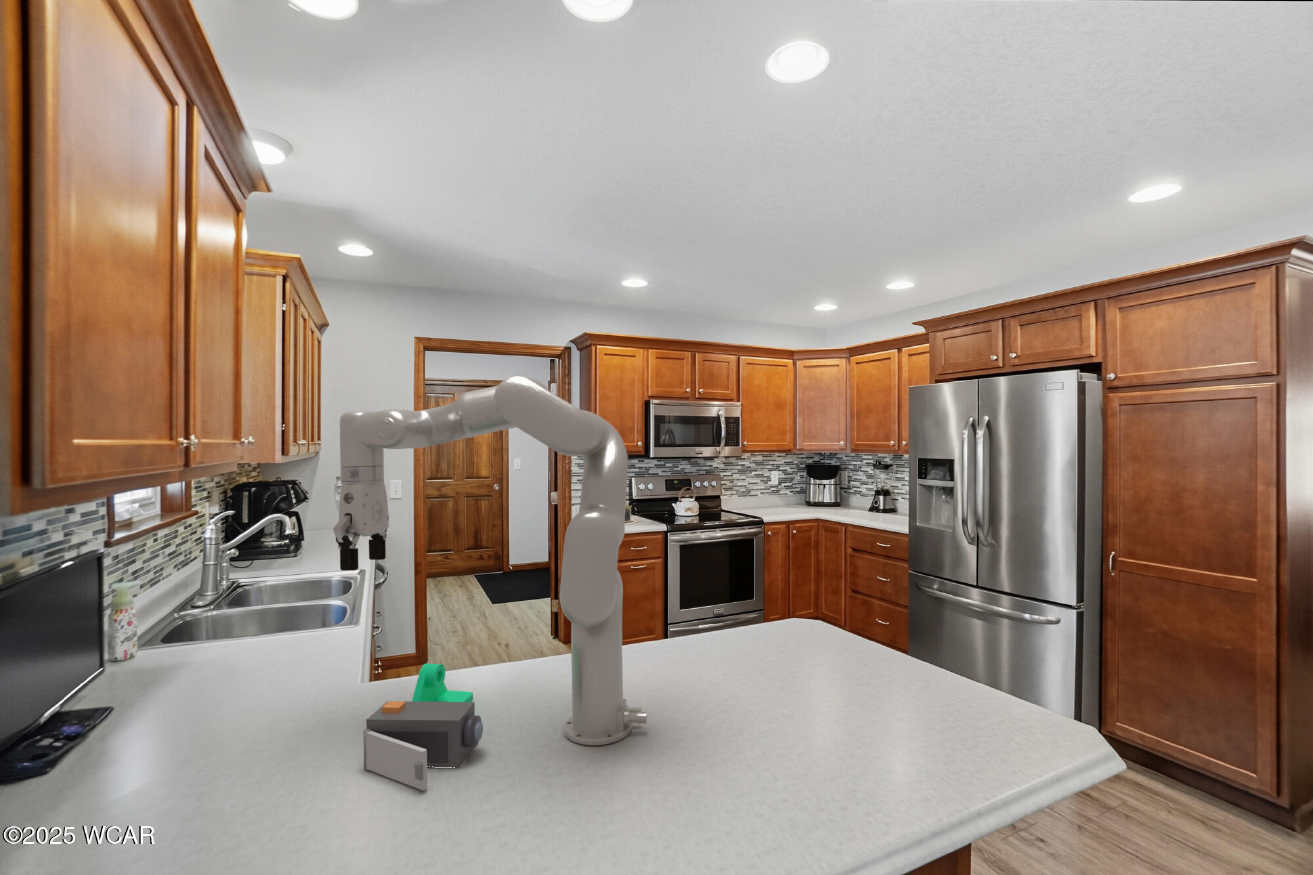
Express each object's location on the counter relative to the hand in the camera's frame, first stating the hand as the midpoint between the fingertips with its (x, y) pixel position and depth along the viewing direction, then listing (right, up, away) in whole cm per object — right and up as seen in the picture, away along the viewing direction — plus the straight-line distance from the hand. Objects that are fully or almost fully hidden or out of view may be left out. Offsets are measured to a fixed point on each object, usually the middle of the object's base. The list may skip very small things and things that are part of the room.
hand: (363, 564), depth 116 cm
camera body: (+17, -31, -12) cm, 37 cm away
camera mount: (+14, -31, +4) cm, 34 cm away
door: (+14, -31, -19) cm, 39 cm away
